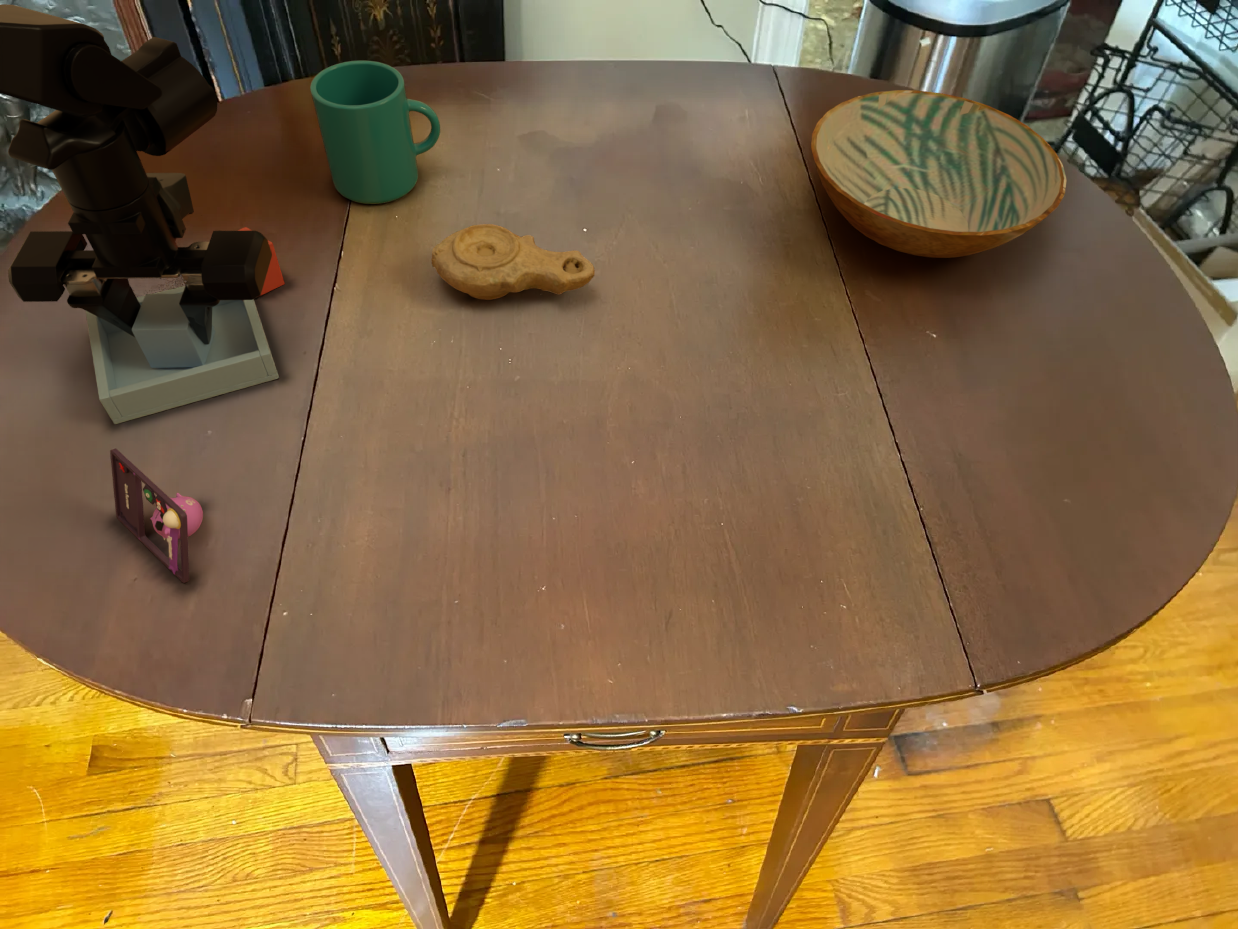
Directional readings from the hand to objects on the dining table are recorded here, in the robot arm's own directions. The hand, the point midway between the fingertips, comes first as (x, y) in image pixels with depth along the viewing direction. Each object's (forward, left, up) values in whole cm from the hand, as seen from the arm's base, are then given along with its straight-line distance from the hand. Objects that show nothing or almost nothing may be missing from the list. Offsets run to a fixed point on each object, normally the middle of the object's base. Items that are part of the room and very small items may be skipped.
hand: (180, 341), depth 79 cm
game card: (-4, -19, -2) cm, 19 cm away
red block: (+7, +8, -2) cm, 11 cm away
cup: (+24, +19, -2) cm, 31 cm away
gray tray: (0, 0, -2) cm, 2 cm away
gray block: (0, 0, -1) cm, 1 cm away
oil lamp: (+30, -2, -2) cm, 30 cm away
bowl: (+73, -9, -2) cm, 74 cm away
